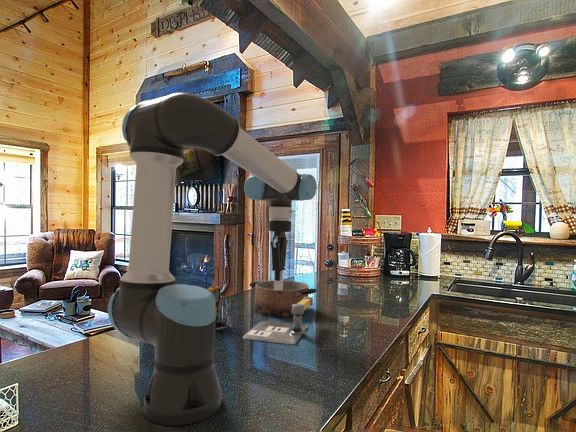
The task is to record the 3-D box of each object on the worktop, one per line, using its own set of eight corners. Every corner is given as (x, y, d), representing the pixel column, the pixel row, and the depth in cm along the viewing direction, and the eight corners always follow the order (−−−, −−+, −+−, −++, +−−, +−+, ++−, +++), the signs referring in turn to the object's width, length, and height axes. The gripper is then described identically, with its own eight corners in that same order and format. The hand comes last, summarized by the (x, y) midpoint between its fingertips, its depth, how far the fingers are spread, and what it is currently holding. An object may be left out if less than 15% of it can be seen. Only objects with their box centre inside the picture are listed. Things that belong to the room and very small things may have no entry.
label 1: (267, 338, 113) (267, 336, 113) (246, 335, 115) (247, 334, 115) (272, 333, 118) (272, 331, 118) (252, 331, 120) (252, 329, 120)
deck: (298, 345, 110) (299, 322, 110) (242, 338, 114) (243, 316, 114) (310, 327, 128) (310, 307, 128) (261, 322, 132) (262, 303, 132)
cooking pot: (236, 310, 149) (237, 284, 149) (265, 300, 168) (265, 277, 169) (301, 322, 135) (302, 293, 135) (324, 310, 154) (325, 285, 154)
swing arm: (301, 315, 117) (302, 306, 117) (290, 314, 118) (290, 305, 118) (313, 305, 132) (314, 297, 132) (303, 303, 133) (303, 296, 133)
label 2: (285, 333, 118) (285, 332, 118) (264, 331, 120) (264, 329, 120) (288, 329, 123) (288, 327, 123) (269, 327, 124) (269, 325, 124)
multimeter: (227, 332, 120) (229, 272, 120) (199, 329, 122) (201, 270, 122) (241, 320, 134) (243, 267, 135) (216, 318, 136) (218, 265, 137)
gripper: (286, 220, 114) (283, 294, 114) (295, 220, 127) (293, 287, 127) (263, 219, 116) (261, 292, 116) (275, 219, 129) (273, 285, 128)
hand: (278, 289), depth 121 cm, fingers closed
